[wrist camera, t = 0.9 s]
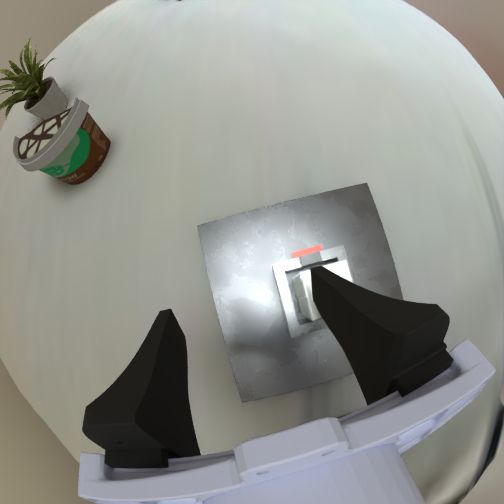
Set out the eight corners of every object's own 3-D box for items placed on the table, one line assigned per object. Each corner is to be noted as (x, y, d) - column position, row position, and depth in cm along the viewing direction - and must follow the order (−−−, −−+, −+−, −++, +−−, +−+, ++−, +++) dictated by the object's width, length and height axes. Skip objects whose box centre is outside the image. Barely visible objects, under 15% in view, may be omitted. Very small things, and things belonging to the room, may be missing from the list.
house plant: (40, 98, 35) (-3, 57, 19) (91, 67, 34) (51, 13, 18) (24, 152, 33) (-33, 113, 17) (78, 120, 32) (19, 61, 16)
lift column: (333, 303, 24) (360, 307, 16) (299, 313, 24) (312, 322, 16) (324, 270, 25) (347, 257, 17) (290, 279, 25) (299, 271, 17)
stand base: (408, 347, 24) (435, 357, 18) (243, 398, 25) (236, 422, 19) (364, 186, 27) (381, 163, 22) (199, 228, 28) (182, 212, 22)
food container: (50, 203, 30) (1, 179, 20) (54, 165, 31) (12, 137, 21) (116, 178, 29) (69, 140, 20) (119, 138, 31) (80, 95, 21)
